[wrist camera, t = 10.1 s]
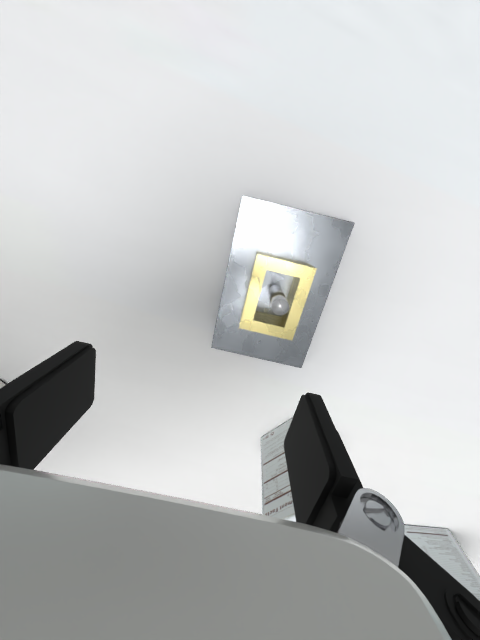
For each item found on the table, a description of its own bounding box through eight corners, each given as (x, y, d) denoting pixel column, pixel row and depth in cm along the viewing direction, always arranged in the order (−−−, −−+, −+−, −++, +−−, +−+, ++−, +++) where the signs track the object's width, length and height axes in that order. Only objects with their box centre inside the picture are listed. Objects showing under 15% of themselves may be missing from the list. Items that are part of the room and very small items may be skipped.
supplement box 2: (381, 554, 46) (448, 725, 30) (394, 522, 42) (477, 696, 27) (433, 559, 45) (528, 735, 30) (450, 528, 42) (568, 707, 26)
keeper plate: (299, 364, 32) (311, 397, 26) (212, 344, 32) (201, 373, 26) (351, 223, 26) (383, 220, 20) (242, 196, 26) (238, 185, 19)
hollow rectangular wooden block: (288, 328, 30) (292, 340, 26) (240, 317, 30) (238, 328, 26) (309, 263, 27) (316, 268, 24) (257, 251, 27) (257, 254, 23)
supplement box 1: (327, 443, 37) (361, 543, 25) (288, 464, 39) (302, 566, 27) (298, 412, 35) (319, 504, 23) (258, 436, 37) (260, 532, 25)
